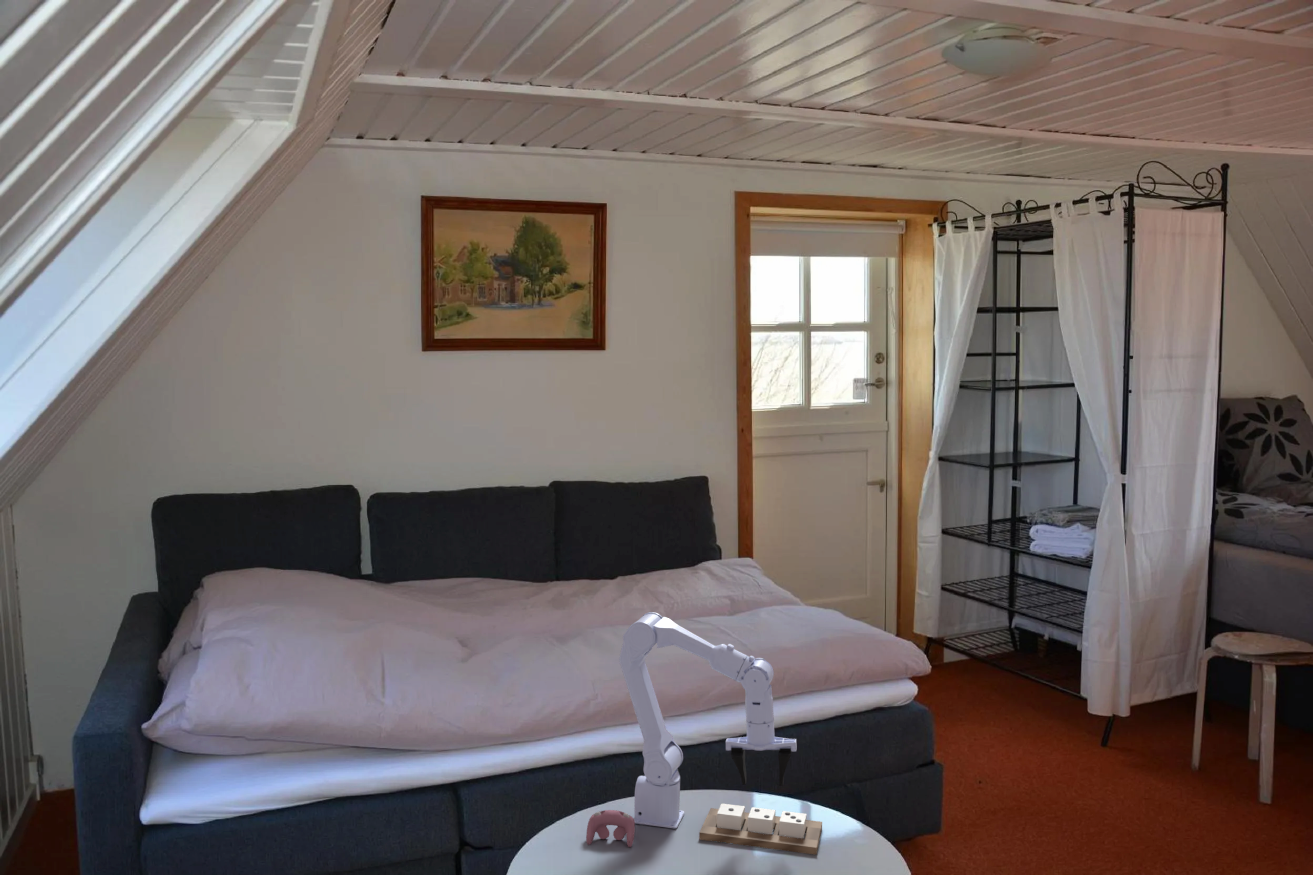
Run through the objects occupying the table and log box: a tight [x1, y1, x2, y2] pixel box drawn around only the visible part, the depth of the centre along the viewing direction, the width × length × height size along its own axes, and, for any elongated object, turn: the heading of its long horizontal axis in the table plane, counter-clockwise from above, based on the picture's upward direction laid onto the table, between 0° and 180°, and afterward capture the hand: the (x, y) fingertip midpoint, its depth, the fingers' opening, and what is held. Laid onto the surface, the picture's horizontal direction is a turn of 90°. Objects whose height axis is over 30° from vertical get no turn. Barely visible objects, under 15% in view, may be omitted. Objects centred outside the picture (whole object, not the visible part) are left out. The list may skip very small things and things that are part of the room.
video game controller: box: [585, 809, 636, 848], centre depth 217 cm, size 10×5×7 cm, turn 85°
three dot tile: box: [779, 810, 807, 839], centre depth 219 cm, size 5×5×3 cm
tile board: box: [698, 807, 823, 856], centre depth 221 cm, size 24×12×2 cm, turn 76°
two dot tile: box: [748, 806, 776, 835], centre depth 221 cm, size 5×5×3 cm
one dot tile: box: [717, 803, 746, 831], centre depth 223 cm, size 5×5×3 cm
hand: (762, 783), depth 220 cm, fingers open, 7 cm apart
